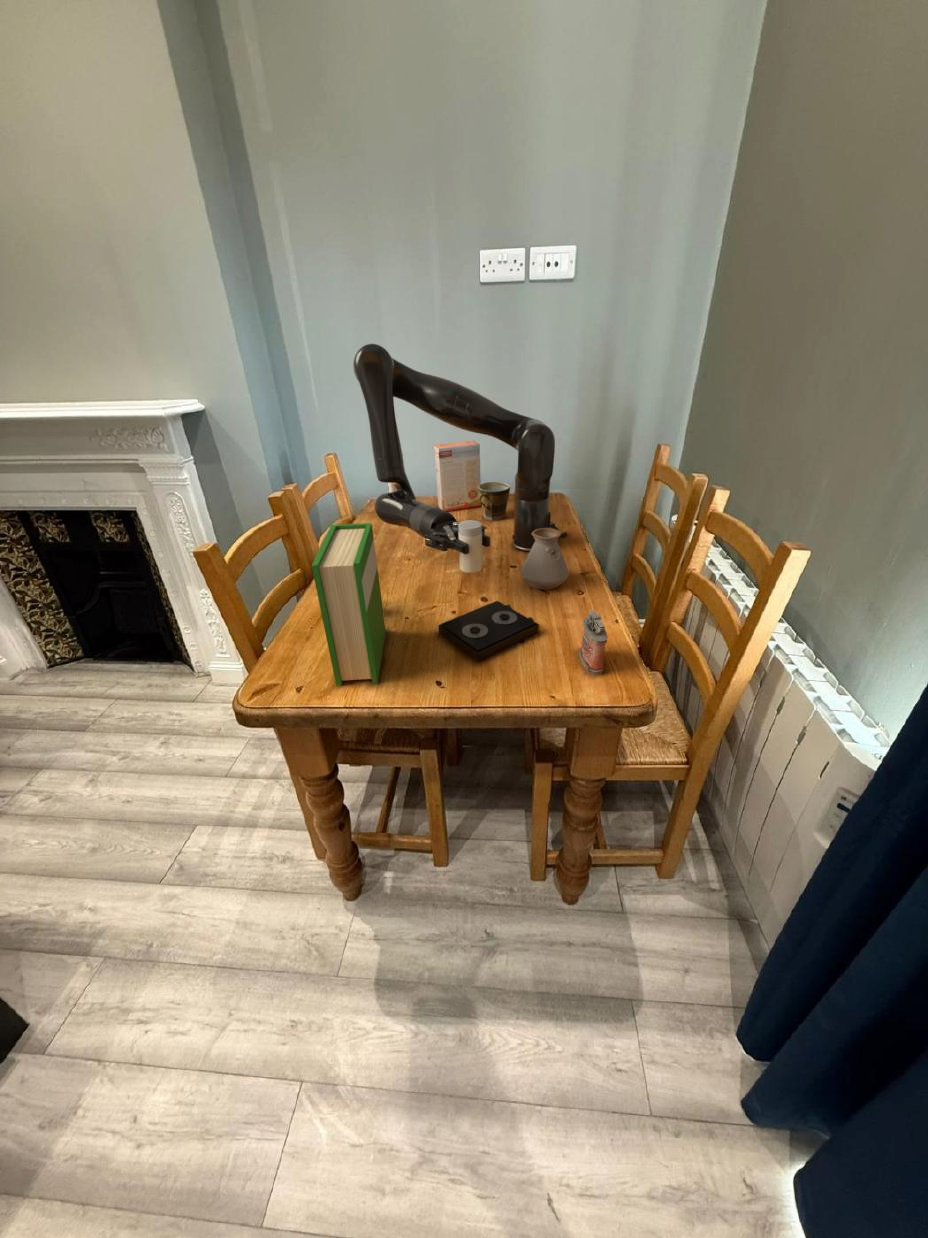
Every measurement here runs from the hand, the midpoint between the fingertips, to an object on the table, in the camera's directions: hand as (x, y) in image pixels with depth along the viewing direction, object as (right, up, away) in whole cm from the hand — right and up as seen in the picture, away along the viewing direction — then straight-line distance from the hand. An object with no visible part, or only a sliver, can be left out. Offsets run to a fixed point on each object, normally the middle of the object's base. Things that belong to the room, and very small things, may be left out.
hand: (478, 545), depth 104 cm
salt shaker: (-1, -4, +5) cm, 7 cm away
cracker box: (-5, +23, +68) cm, 72 cm away
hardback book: (-23, -23, -6) cm, 33 cm away
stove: (+2, -18, 0) cm, 18 cm away
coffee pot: (+16, -9, +14) cm, 24 cm away
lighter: (+21, -23, -9) cm, 33 cm away
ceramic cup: (+6, +17, +58) cm, 60 cm away
